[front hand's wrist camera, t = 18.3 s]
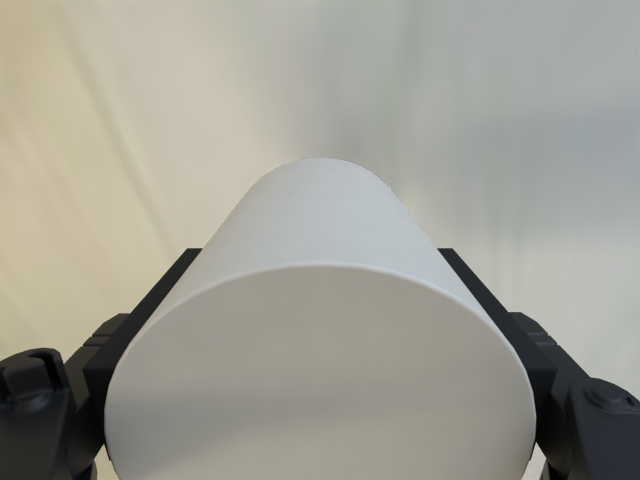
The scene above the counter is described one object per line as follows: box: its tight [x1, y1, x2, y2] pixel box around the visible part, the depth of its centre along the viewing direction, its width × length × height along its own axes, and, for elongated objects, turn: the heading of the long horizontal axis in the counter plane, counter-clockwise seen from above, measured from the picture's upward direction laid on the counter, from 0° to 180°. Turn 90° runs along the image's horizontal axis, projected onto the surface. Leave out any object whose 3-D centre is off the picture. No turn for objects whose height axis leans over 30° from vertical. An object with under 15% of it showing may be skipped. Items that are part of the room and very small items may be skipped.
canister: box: [104, 158, 536, 480], centre depth 12 cm, size 8×8×11 cm
